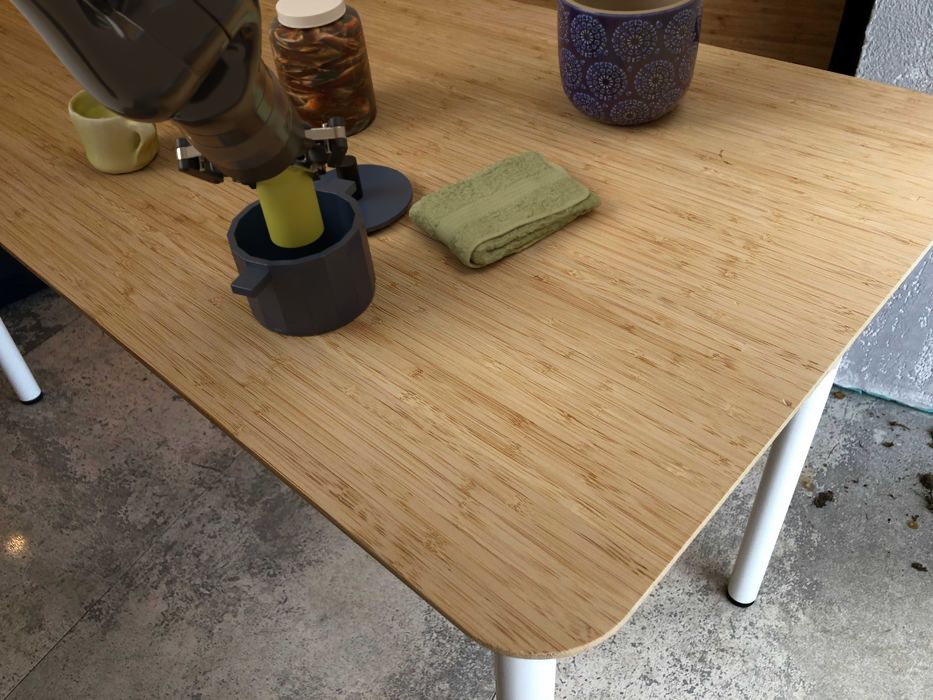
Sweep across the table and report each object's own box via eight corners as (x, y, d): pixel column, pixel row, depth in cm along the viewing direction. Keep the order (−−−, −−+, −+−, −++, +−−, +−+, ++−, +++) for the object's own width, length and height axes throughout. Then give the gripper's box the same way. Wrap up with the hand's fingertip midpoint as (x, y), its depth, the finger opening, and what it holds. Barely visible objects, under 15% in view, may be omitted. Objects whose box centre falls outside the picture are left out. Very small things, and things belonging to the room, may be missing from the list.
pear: (260, 242, 78) (230, 145, 71) (289, 212, 81) (264, 117, 75) (305, 252, 77) (279, 154, 70) (334, 221, 80) (311, 125, 73)
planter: (632, 154, 98) (639, 27, 88) (530, 109, 108) (526, -10, 97) (720, 100, 105) (736, -23, 95) (618, 63, 115) (622, -53, 105)
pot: (209, 337, 81) (181, 266, 75) (309, 232, 92) (291, 163, 86) (319, 368, 76) (298, 296, 70) (409, 254, 88) (398, 183, 82)
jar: (396, 107, 111) (379, -9, 101) (336, 149, 104) (310, 29, 94) (331, 88, 117) (308, -24, 106) (270, 126, 110) (239, 11, 100)
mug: (57, 147, 107) (55, 74, 100) (137, 140, 113) (140, 70, 107) (97, 202, 101) (98, 127, 95) (179, 190, 107) (185, 120, 101)
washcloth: (607, 210, 90) (608, 184, 88) (473, 280, 84) (471, 254, 81) (530, 163, 98) (529, 138, 96) (403, 222, 92) (399, 197, 90)
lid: (271, 227, 93) (258, 183, 89) (334, 165, 102) (324, 122, 98) (377, 250, 88) (368, 205, 85) (434, 183, 97) (428, 138, 93)
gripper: (332, 50, 60) (358, 122, 77) (130, 77, 60) (201, 143, 77) (346, 154, 60) (369, 204, 77) (143, 182, 60) (212, 225, 77)
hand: (285, 173), depth 77 cm, fingers closed on pear, 5 cm apart
